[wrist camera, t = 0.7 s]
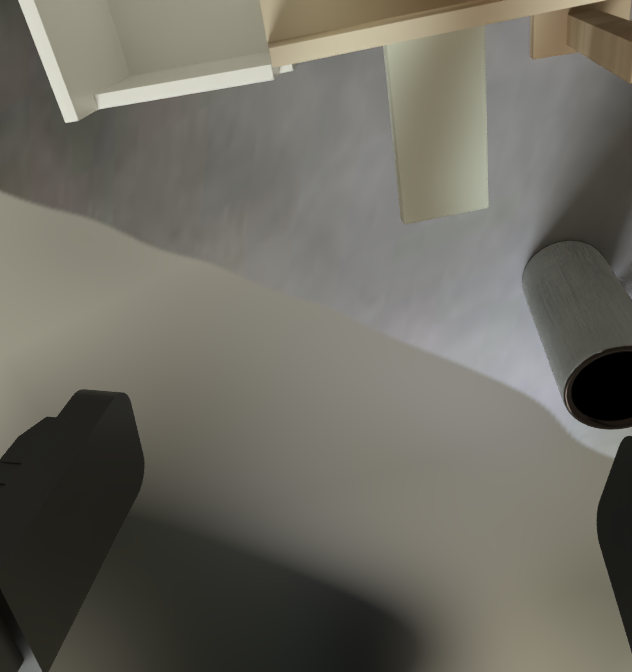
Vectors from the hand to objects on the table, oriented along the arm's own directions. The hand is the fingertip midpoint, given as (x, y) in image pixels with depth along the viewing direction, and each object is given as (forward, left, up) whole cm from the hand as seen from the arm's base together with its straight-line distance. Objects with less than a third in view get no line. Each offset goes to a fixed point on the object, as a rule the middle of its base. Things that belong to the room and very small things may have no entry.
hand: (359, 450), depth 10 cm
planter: (-9, +10, -24) cm, 28 cm away
